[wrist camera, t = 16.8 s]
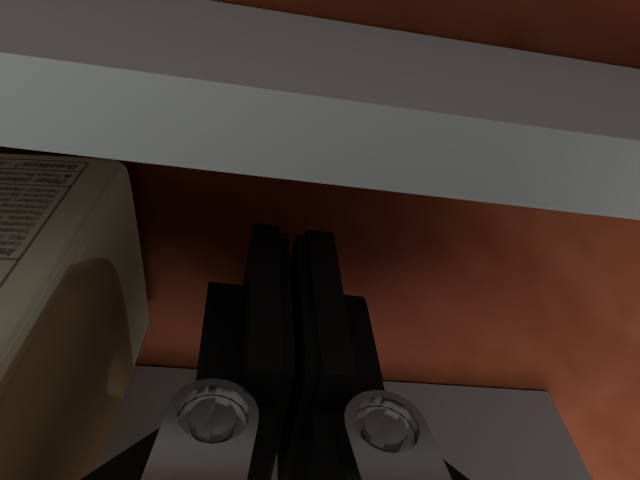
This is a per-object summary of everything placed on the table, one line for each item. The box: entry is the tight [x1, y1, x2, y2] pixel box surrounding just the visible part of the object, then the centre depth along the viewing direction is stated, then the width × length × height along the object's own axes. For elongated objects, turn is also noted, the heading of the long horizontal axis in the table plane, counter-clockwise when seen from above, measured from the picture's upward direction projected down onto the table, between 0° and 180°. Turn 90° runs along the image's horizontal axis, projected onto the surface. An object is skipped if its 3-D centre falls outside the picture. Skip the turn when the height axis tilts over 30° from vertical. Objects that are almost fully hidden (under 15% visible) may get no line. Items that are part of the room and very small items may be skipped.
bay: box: [0, 0, 640, 480], centre depth 10 cm, size 11×19×8 cm, turn 80°
